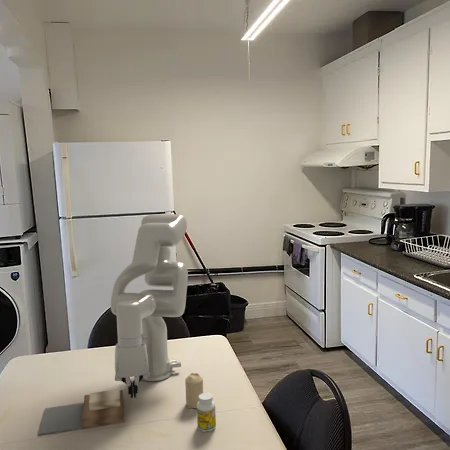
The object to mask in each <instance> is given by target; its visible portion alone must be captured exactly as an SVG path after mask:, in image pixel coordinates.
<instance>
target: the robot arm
mask: <svg viewBox="0 0 450 450" xmlns="http://www.w3.org/2000/svg"><path fill="white" fill-rule="evenodd" d="M187 227H188V223H187V219H186V217H185V216H184V215H182V214H178V213H177V214H174V213H173V214H171V213H170V214H169V213H168V214H167V213H166V214H165V213H164V214H162V213H161V214H159V213H158V214H148V215H145V216H144V217H142V219H141V223H140V226H139V228H138V230H137V236H136V240H135V246H134V249H133V250H134V251H133V255H132V261H131V263H130V264H129V265H128V266H126V267H125V268H124V269H123V270H122V272H121V273H120V274H119V275H118V276H117V278H116V279H115V281H114V284H113V289H112V293H111V298H110V311H111V313H112V314H113V315H115V316H116V328H117V332H116V333H117V343H116V344H115V346H114V372H115V373H114V374H115V375H114V381H116V382H122V383H124V384H125V385H126V386H127V395H129V396H130V399H133V398H135V399H136V398H137V394H139V388H138V385H139V384H140V382H141V381H145V382H146V381H147V382H159V381H163V380H166V379H167V378H170V377H171V376H172V374H173V371H174V370H173V369H175V368H182V363H181V361H177V359H174V360H170V359H169V355H168V352H169V351H168V350H169V349H168V329H167V324H166V322H165V320H164V318H163V317H165V318H166V317H167V318H168V317H169V318H178V317H181V316H182V315H183V314H185V309H186V302H187V301H186V300H187V291H188V281H189V279H188V278H189V273H188V267H187V265H186V264H185V263H184V262H182V261H181V262H180V261H171V247H176V246H177V245H179V243H180V242H181V240H183V237H184V236H185V234H186V232H187ZM142 276H144V282H145V284H146V285H147V286H148V287H151V289H144V290H141V291H140V292H125V291H126V289H127V287H128V286H129V285H130V284H131V282H132V281H134V280H136V279H137V278H140V277H142ZM152 288H153V289H152ZM154 288H172V289H154ZM131 377H132V378H134V379H133V381H132V380H131Z"/></svg>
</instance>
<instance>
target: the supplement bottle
mask: <svg viewBox="0 0 450 450" xmlns="http://www.w3.org/2000/svg"><path fill="white" fill-rule="evenodd" d="M216 417H217V416H216V403H215V401H214V399H213V394H212V393H210V392H203V393H202V394H200V395H199V402H198V403H197V409H196V420H197V422H196V423H197V429H198V430H199V429H200V430H202V431H201V432H203V431H209V432H211V431H210V430H212V431H213V429H214V428H215V429H216V427H217V419H216ZM215 429H214V430H215ZM200 430H199V431H200Z"/></svg>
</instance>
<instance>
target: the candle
mask: <svg viewBox="0 0 450 450" xmlns="http://www.w3.org/2000/svg"><path fill="white" fill-rule="evenodd" d="M184 385H185V405H186V407H187V406H188V407H189V408H188V407H187V408H188V409H190V408H197V403H198V402H199V395H200V394H202V393H204V378H203V376H201V375H200V374H199V373H197V372H196V373H194V372H192V373H190V374H189V375H188V376H186V378H185V383H184Z"/></svg>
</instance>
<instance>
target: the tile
mask: <svg viewBox="0 0 450 450" xmlns="http://www.w3.org/2000/svg"><path fill="white" fill-rule="evenodd" d="M120 390H121V389H120V388H116V389H111V390H110V389H109V390H102V391H94V392H90V393H89V395H90V399H89V409H90V411H91V410H98V409H104V408H111V407H117V406H120Z"/></svg>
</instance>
